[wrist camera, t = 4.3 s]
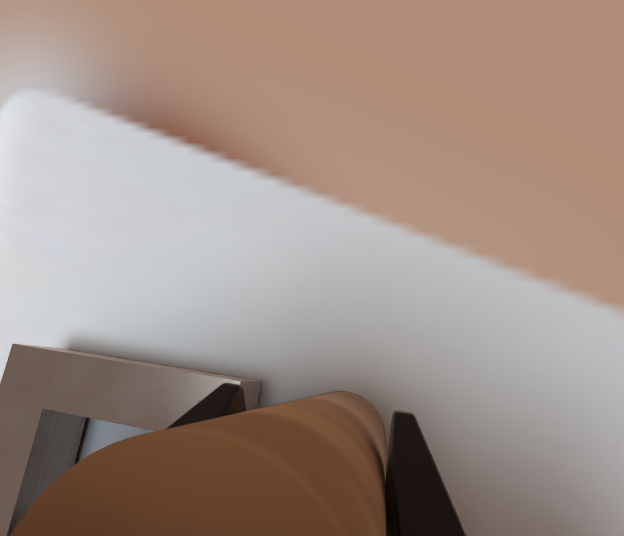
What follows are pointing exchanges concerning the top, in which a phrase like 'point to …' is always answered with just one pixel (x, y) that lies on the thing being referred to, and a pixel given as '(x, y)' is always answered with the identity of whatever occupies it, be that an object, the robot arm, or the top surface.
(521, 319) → the top surface
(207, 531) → the walnut pin
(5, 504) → the square hole frame
